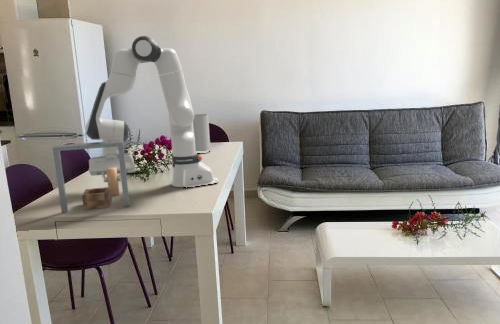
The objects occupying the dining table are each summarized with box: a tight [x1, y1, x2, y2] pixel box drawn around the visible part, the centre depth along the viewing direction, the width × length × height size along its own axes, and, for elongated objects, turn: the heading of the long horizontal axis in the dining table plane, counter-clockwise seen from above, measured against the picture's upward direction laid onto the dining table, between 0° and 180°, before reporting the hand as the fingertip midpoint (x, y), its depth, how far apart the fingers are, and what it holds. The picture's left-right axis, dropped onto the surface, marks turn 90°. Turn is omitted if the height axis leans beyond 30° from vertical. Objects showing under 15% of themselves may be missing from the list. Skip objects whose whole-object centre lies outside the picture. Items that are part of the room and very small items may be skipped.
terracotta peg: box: [106, 167, 120, 196], centre depth 195 cm, size 4×4×12 cm
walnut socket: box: [81, 186, 113, 211], centre depth 180 cm, size 10×10×6 cm
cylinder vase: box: [193, 113, 211, 151], centre depth 288 cm, size 12×12×25 cm
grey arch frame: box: [52, 140, 131, 214], centre depth 174 cm, size 26×6×26 cm, turn 102°
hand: (112, 180), depth 194 cm, fingers closed on terracotta peg, 4 cm apart
